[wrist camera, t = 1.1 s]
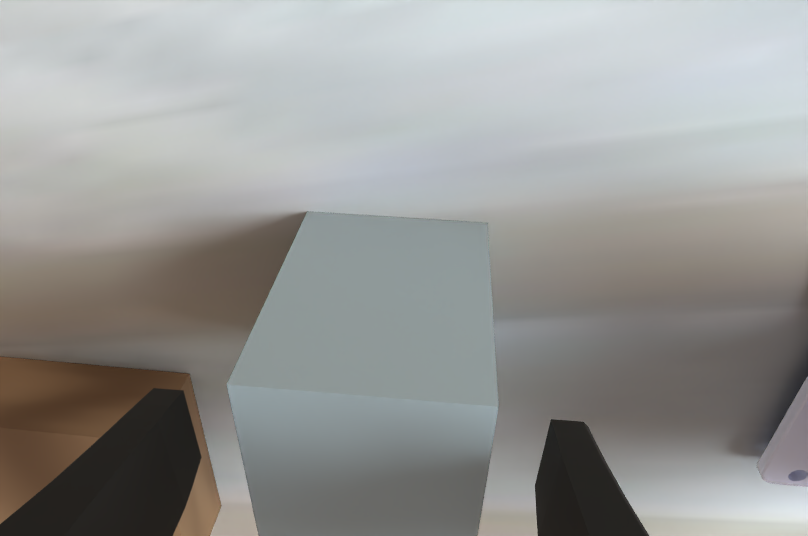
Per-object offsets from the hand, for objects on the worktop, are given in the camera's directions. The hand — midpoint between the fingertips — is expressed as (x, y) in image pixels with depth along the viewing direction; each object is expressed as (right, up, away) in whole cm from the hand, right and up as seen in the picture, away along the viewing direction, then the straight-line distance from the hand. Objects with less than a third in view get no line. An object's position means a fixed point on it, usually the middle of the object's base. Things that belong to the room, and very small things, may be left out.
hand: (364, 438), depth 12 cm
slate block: (+1, +3, +4) cm, 5 cm away
